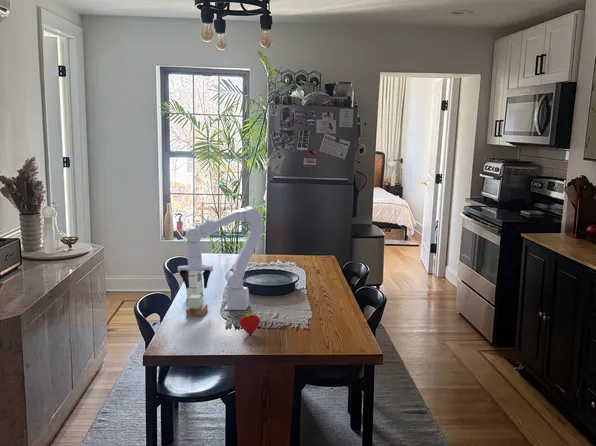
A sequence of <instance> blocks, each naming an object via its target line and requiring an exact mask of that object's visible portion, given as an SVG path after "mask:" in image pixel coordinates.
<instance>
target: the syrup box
mask: <svg viewBox="0 0 596 446" xmlns="http://www.w3.org/2000/svg"><path fill="white" fill-rule="evenodd" d="M185 289H186V290H185V291H186V298H187V299H188V298H189V297H190V296H191V295H202V296H203V295H204V290H203V289H204V286H203V273H202V271H189V288H186V287H185Z"/></svg>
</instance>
